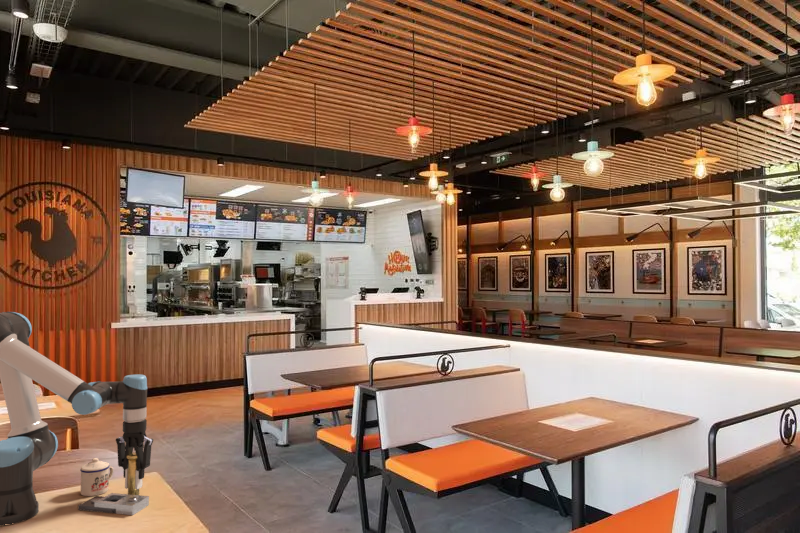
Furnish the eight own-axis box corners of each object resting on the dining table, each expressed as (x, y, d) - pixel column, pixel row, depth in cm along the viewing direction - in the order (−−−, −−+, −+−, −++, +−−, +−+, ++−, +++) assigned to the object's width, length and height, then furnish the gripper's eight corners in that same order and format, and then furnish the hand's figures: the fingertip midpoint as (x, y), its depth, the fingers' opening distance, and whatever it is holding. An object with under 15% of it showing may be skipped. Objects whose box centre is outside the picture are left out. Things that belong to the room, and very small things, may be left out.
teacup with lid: (92, 498, 191) (93, 464, 192) (73, 494, 195) (74, 460, 195) (121, 486, 203) (122, 454, 203) (103, 483, 206) (103, 451, 206)
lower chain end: (78, 509, 182) (78, 503, 182) (96, 500, 190) (96, 494, 190) (116, 513, 179) (116, 507, 179) (132, 503, 187) (132, 497, 187)
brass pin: (122, 496, 193) (123, 455, 193) (132, 491, 197) (132, 451, 198) (135, 498, 192) (135, 456, 192) (144, 492, 196) (144, 452, 197)
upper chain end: (94, 511, 181) (94, 500, 181) (111, 501, 188) (112, 491, 188) (132, 515, 178) (132, 504, 178) (148, 505, 186) (148, 494, 186)
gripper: (162, 418, 197) (161, 485, 197) (121, 416, 201) (120, 482, 200) (148, 423, 190) (147, 493, 189) (106, 421, 193) (105, 489, 193)
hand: (133, 487), depth 195 cm, fingers closed on brass pin, 3 cm apart
